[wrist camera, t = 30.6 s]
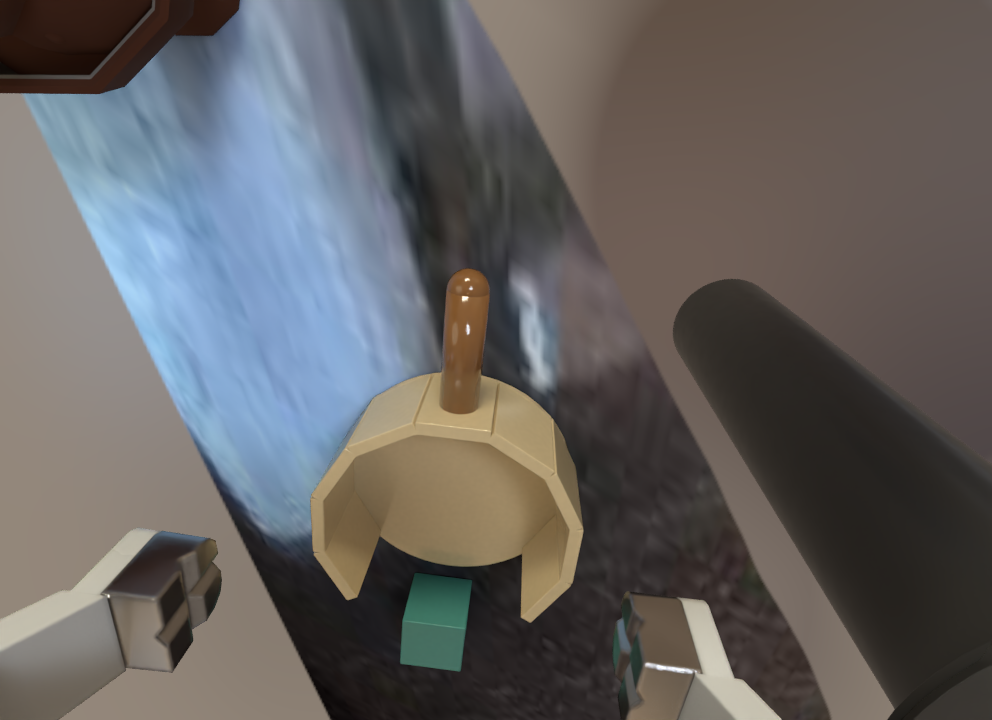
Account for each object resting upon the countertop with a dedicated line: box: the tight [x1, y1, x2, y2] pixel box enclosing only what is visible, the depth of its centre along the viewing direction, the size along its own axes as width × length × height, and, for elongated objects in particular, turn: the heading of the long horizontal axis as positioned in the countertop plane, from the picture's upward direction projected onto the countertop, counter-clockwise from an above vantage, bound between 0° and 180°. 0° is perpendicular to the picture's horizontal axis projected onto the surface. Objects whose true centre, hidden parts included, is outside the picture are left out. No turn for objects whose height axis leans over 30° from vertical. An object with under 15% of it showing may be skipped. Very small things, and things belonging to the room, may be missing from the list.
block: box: [400, 573, 472, 671], centre depth 37 cm, size 4×4×4 cm
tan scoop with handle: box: [310, 268, 583, 623], centre depth 30 cm, size 14×21×6 cm, turn 174°
